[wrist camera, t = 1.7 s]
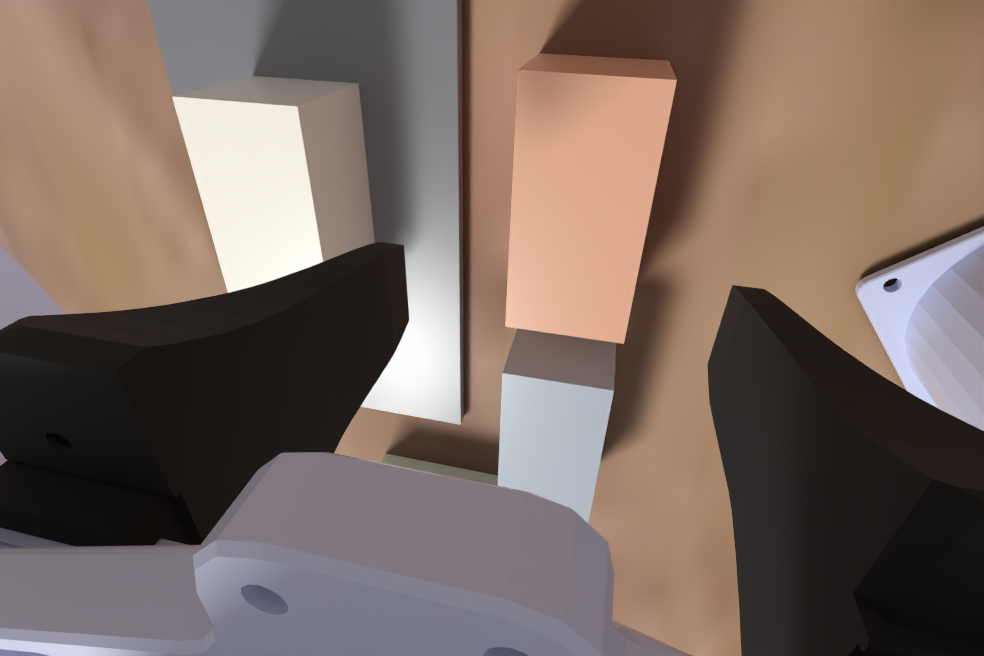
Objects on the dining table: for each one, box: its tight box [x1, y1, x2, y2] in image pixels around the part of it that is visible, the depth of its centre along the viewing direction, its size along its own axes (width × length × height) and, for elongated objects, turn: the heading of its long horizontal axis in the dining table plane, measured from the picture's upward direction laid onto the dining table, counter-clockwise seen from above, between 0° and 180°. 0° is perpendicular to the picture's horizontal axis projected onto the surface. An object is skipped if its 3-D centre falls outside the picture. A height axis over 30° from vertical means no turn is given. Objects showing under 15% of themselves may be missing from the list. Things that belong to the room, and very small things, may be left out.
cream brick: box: [172, 76, 375, 293], centre depth 19 cm, size 8×4×4 cm, turn 179°
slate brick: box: [498, 328, 617, 523], centre depth 23 cm, size 8×4×4 cm, turn 179°
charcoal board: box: [147, 0, 464, 425], centre depth 21 cm, size 22×11×1 cm, turn 179°
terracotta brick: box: [505, 53, 677, 344], centre depth 17 cm, size 8×4×4 cm, turn 179°
